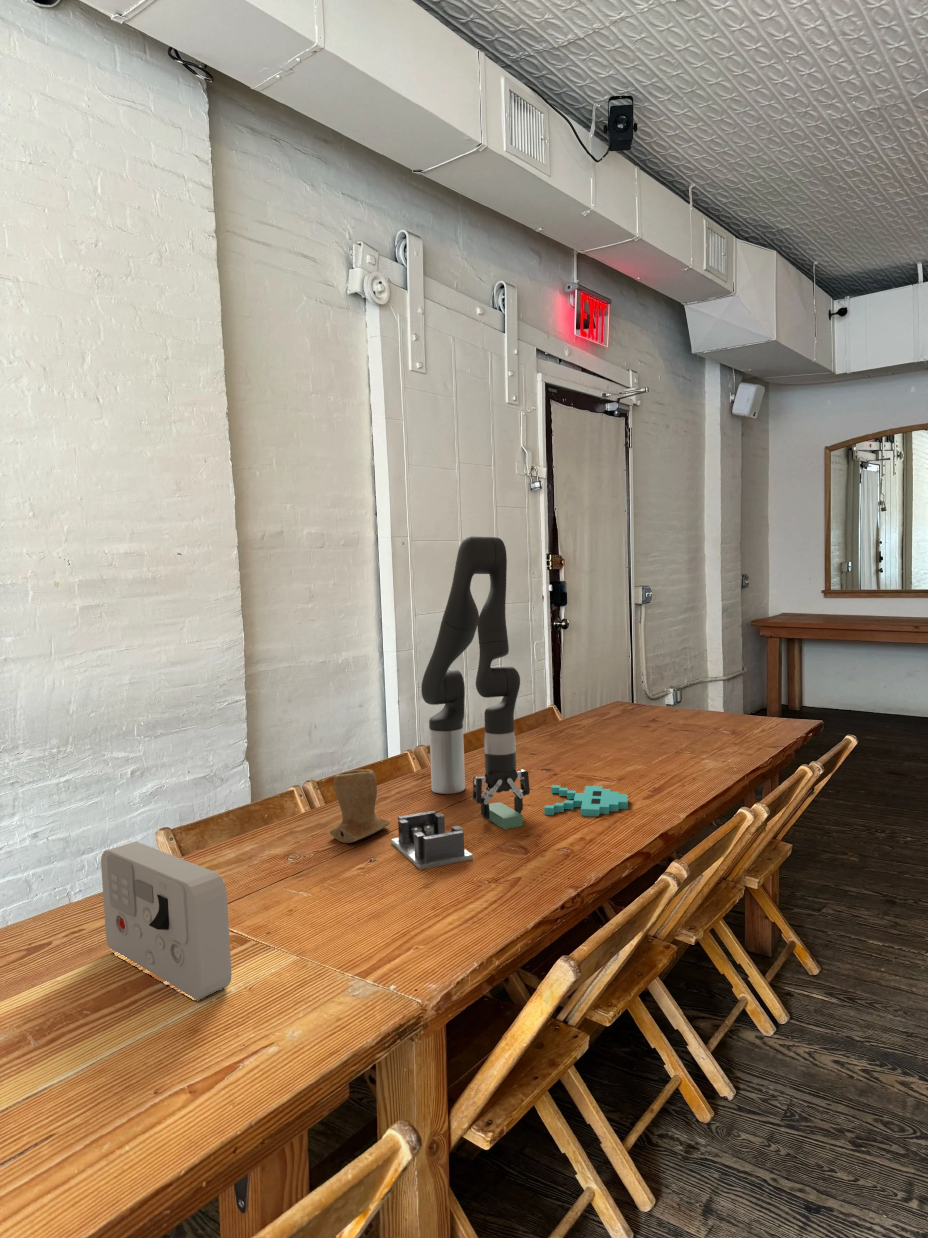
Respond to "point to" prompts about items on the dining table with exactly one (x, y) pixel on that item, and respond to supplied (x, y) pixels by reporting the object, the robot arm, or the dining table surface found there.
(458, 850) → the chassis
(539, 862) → the dining table surface
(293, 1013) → the dining table surface
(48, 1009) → the dining table surface
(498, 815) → the green block
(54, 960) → the dining table surface
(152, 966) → the grey button box
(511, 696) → the robot arm
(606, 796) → the alien figure
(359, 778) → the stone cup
